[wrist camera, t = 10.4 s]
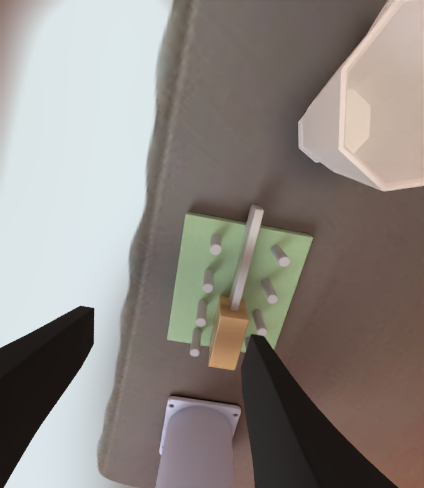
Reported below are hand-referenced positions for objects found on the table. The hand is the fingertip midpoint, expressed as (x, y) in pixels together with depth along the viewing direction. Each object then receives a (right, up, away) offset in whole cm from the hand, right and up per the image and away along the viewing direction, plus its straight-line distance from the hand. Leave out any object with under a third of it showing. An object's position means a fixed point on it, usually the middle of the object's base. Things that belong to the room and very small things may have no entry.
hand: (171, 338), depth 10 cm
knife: (+4, 0, +9) cm, 9 cm away
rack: (+4, 0, +10) cm, 10 cm away
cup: (+10, +14, +5) cm, 18 cm away
